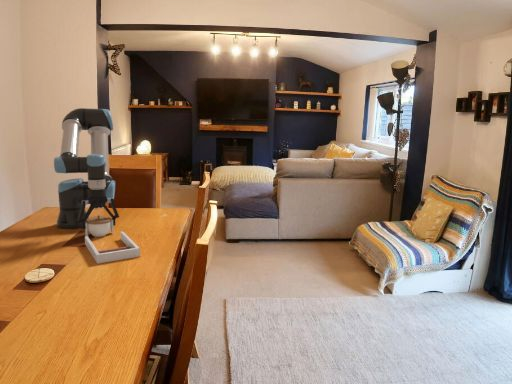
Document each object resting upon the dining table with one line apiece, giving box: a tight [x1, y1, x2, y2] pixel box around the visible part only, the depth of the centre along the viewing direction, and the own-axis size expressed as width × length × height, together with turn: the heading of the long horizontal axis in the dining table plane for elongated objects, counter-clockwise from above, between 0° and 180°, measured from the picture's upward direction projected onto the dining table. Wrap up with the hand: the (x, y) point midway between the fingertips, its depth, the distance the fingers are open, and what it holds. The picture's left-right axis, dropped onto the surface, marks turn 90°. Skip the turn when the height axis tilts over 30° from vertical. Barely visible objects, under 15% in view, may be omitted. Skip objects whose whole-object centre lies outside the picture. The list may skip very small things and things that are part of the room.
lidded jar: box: [86, 215, 112, 238], centre depth 184 cm, size 11×11×9 cm
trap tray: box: [97, 246, 132, 254], centre depth 159 cm, size 8×13×2 cm, turn 123°
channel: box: [84, 231, 141, 265], centre depth 165 cm, size 26×16×4 cm, turn 33°
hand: (99, 234), depth 185 cm, fingers closed on lidded jar, 11 cm apart
